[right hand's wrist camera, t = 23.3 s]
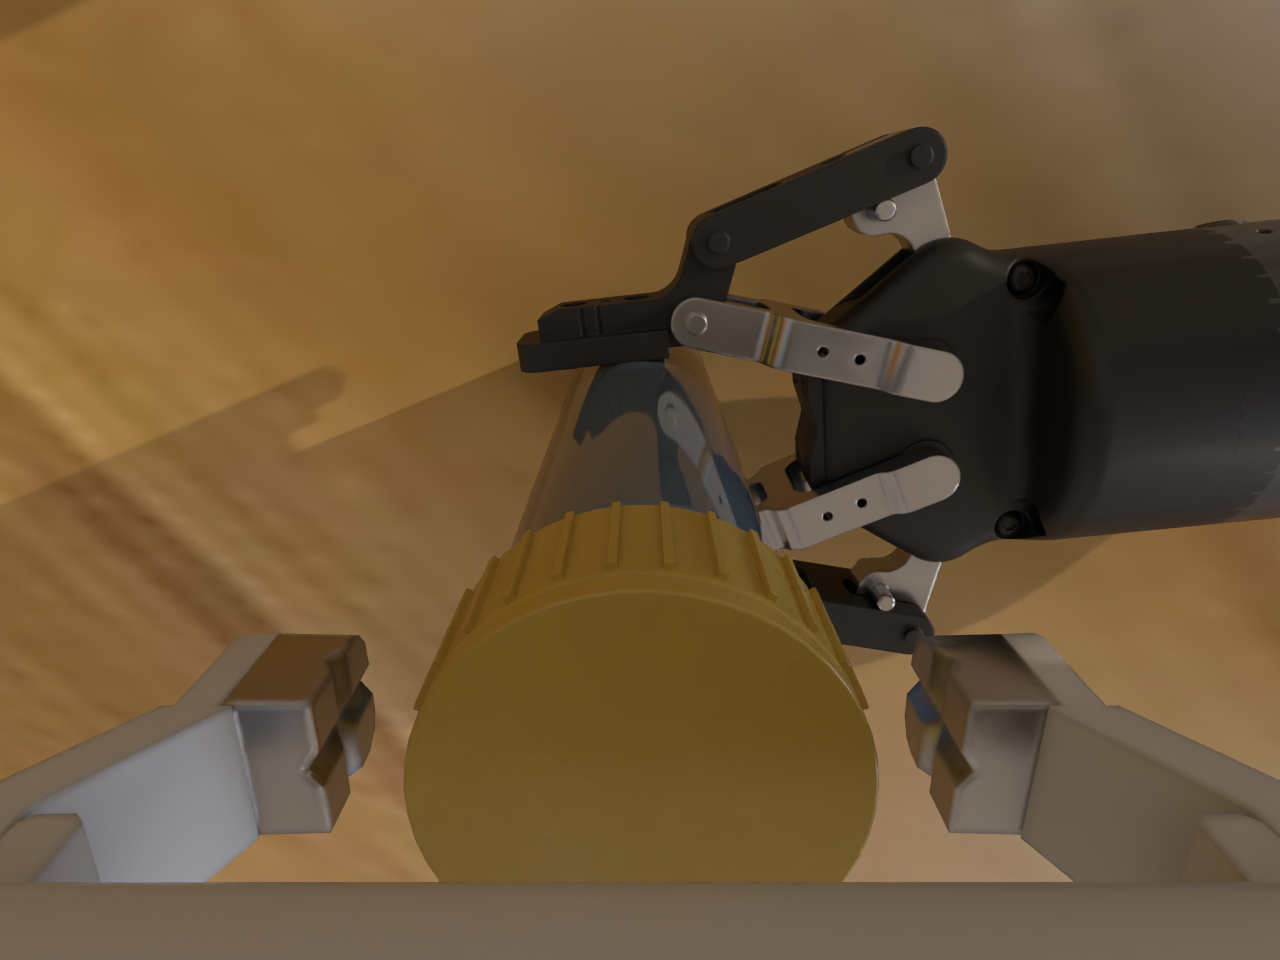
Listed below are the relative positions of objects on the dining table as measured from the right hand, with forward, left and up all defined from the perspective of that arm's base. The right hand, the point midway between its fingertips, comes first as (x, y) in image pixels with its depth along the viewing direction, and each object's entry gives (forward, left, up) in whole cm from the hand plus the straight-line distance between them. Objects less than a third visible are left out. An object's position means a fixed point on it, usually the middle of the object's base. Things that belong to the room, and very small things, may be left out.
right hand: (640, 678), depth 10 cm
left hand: (-3, +1, -11) cm, 11 cm away
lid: (0, 0, +2) cm, 2 cm away
